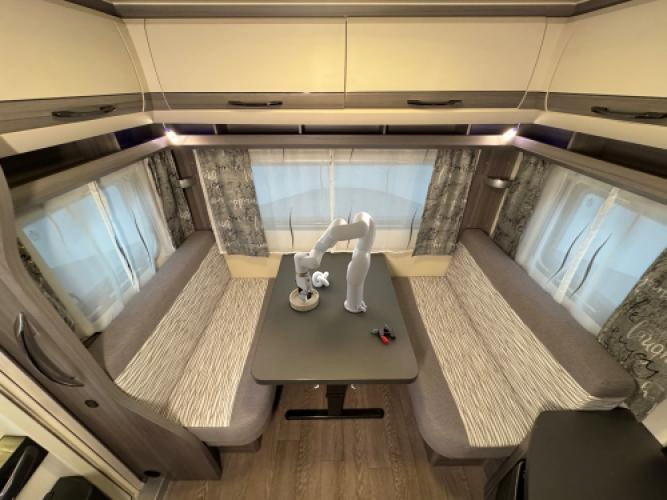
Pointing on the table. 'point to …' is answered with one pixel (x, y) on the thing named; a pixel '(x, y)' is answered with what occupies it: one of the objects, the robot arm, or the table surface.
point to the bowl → (301, 305)
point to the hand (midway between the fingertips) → (305, 295)
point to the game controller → (303, 295)
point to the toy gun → (384, 333)
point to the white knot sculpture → (320, 279)
